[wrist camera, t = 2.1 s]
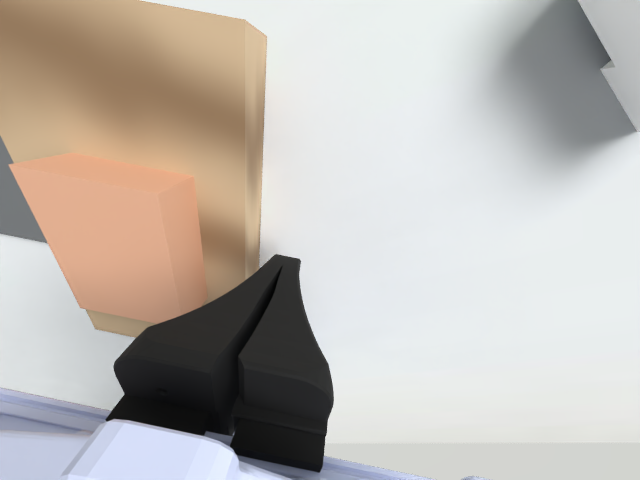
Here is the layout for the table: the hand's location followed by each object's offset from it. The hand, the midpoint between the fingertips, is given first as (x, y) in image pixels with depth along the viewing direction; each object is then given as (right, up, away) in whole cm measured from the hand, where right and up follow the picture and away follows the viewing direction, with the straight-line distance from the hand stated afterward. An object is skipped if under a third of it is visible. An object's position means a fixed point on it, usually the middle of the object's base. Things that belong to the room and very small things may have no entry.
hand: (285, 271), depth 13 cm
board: (-8, +3, +3) cm, 9 cm away
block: (-8, +2, +1) cm, 8 cm away
